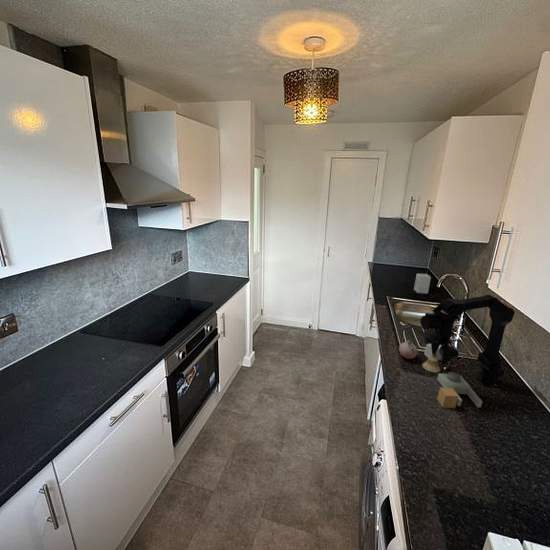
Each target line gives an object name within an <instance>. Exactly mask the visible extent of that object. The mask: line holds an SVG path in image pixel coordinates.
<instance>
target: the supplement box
mask: <svg viewBox="0 0 550 550" xmlns="http://www.w3.org/2000/svg"><path fill="white" fill-rule="evenodd" d="M431 279H432V277H431V275H429V274H428V273H416V275H415V280H414V287H413V291H415V292H416V293H417V294H426V295H427V294H428V295H429V290H430V283H431Z"/></svg>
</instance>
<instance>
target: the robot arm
mask: <svg viewBox="0 0 550 550" xmlns="http://www.w3.org/2000/svg"><path fill="white" fill-rule="evenodd" d="M483 308H488V309H489V318H490V320H491V324H490V329H489V333H488V337H487V341H486V345H485V350H483V351H480V352H478V356H477V358H476V360H477V362H478V366H479V367H480V368H481V370H480V371H479V373H478V376H476V379H477V378H478V379H479V380H480V381H479V380H478V379H477V380H478V381H479V382H480V383H481V385H483V386H484V385H485V386H484V387H491V386H490V385H493V386H494V384H497V382H498V381H499V378H501V377H503V376H504V374H505V371H504V370H503V369H502V367H501V366H502V364H501V363H502V359H501V357H500V355H499V353H500V350H501V345H502V341H503V337H504V333H505V330H506V326H507V325H508V324H510V323H511V322H512V320H513V318H514V316H515V310H514V309H513V308H512V307H510V306H507V305H506V304H504V303H503V302H502V301H501V300H499V298H497V297H495V296H493V295H491V294H485V295H481V296H476V297H468V298H462V299H460V298H449V297H448V298H447V297H446V298H444V299H443V298H442V299H441V302H440V303H438V305H437V306H436V307H435V308H434V309H433V310H432V312H433V313H430V312H426V313H425V314H424V315H423V316H422V317H421V318H420V321H419V323H420V326H421V328H422V329H424V330H426V331H424V332H421V339H422V341H423V342H424V344H426V345H427V344H429V343H430V344H431V349H432V354H435V353H436V351H437V349H438V348H439V346H440V345H441V347H440V351H439V353H440V354H441V360H440V366H445V364H446V365H447V363H448V362H449V361H451V360H452V359H454V358H458V357H459V354H460V352H459V351H458V350H457V348H456V347H455V346H453V345H451V344H452V343H453V342H452V340H451V337H452V336H454V335H455V333H454V332H453V329H454V326H455V322H456V320H457V321H460V320H461V317H460V316H459V315H462V314H463V313H464V312H466V311H471V310H472V311H473V310H478V309H483ZM449 344H450V345H449Z"/></svg>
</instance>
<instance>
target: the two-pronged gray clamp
mask: <svg viewBox="0 0 550 550" xmlns="http://www.w3.org/2000/svg"><path fill="white" fill-rule="evenodd" d="M436 380H438V382H439V383H440V384H441V386H442V388H452V389H453V390H454V391H455V393H456V394H457V395H458V399H457V403H456V406H457V407H461V406H462V403H463V399H462V398H461V397H460V395H467V396H468V397H469V398H470V400H471V402H473V404H474V405H475V406H476V407H477V408H480V409H481V408H482V404H483V400H482V399H481V398H480V397H479V395H477V394H476V392H475V391H474V390H473V388H472V387H471V386H470V384H469V383H468V382H467V381H466V380H465V378H463V376H462V375H461V374H459V373H457V372H454V371H448V372H447V373H440V372H438V374H437V378H436Z"/></svg>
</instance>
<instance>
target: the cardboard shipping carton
mask: <svg viewBox="0 0 550 550" xmlns="http://www.w3.org/2000/svg"><path fill="white" fill-rule="evenodd" d="M458 395H459V394H458ZM458 395H457V394H456V393H455V391H454V390H453V389H452V388H444V387H439V389H438V394H437V398H436V399H437V401H438V403H439V404H440V406H441V407H442V408H445V409H446V408H447V409H456V406H457V404H456V403H457V399H458Z"/></svg>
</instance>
